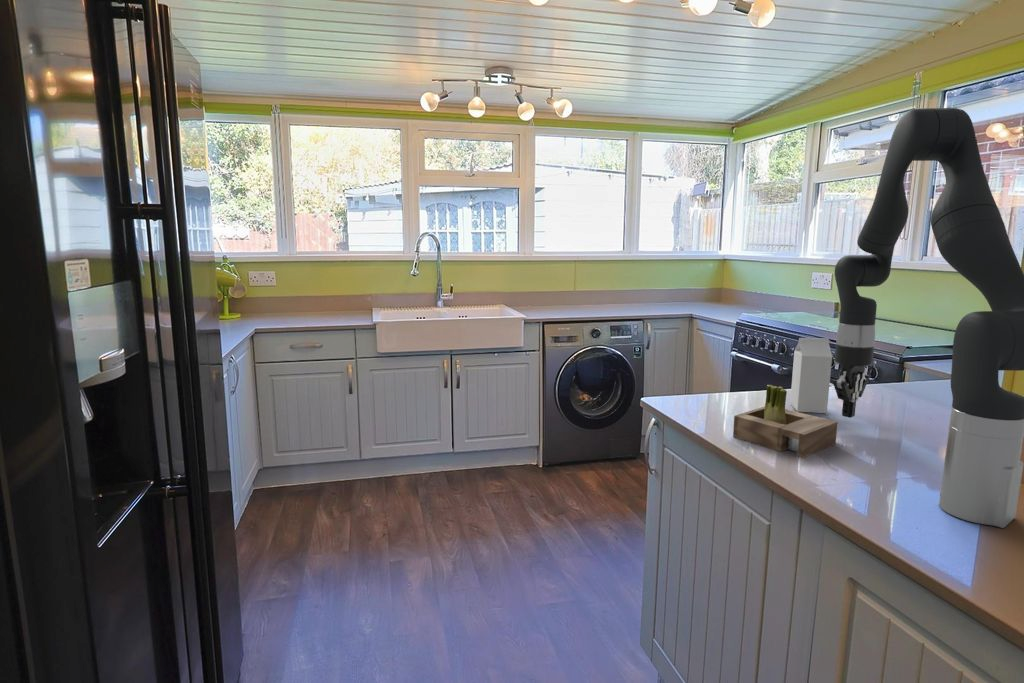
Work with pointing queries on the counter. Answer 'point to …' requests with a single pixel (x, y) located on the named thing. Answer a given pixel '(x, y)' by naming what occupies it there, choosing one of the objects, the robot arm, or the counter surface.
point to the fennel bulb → (775, 404)
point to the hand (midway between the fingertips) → (848, 416)
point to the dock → (786, 431)
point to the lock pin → (793, 444)
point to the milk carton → (811, 375)
